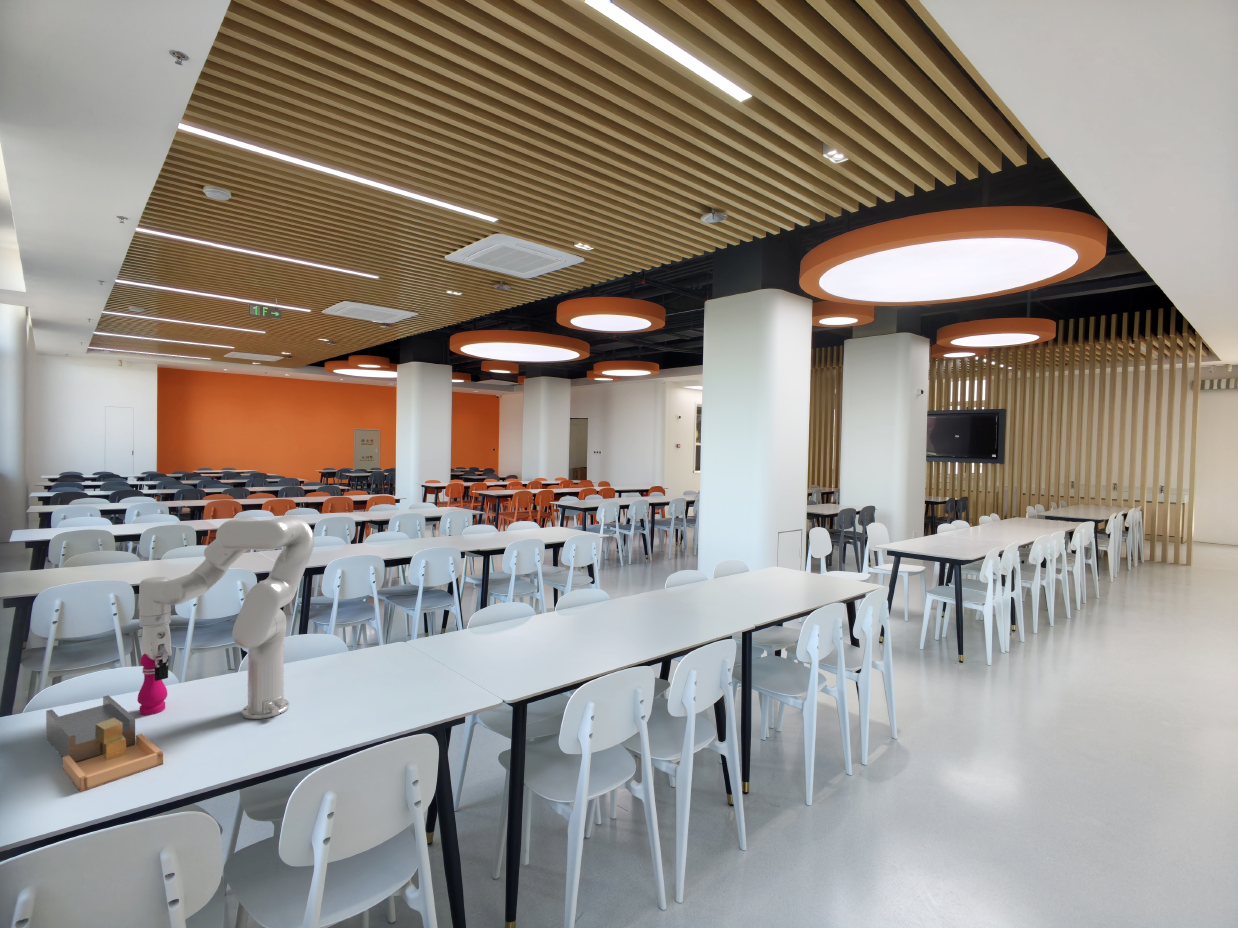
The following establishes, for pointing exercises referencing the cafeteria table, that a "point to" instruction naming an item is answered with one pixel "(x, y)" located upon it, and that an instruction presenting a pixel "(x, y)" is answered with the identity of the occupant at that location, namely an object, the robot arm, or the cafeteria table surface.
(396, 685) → the cafeteria table surface
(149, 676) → the pepper mill
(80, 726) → the channel bed
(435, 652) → the cafeteria table surface
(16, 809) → the cafeteria table surface
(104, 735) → the yellow tan cube
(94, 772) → the tray
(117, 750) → the yellow wooden cube
